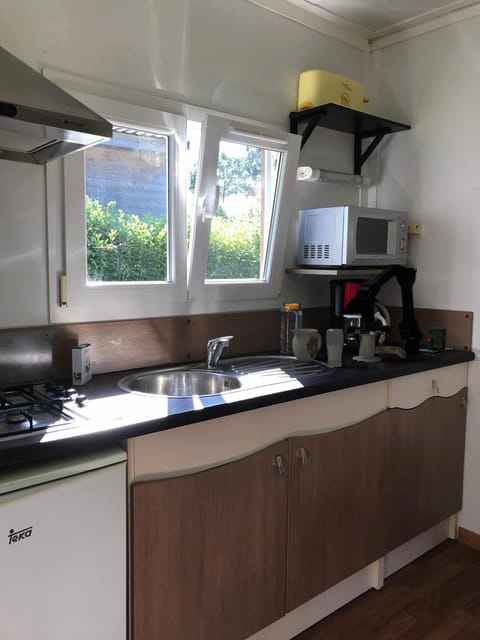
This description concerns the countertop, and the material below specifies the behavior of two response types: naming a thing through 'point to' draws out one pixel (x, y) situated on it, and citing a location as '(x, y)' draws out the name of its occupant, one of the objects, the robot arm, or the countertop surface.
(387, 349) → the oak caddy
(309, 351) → the pitcher
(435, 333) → the canned tomato
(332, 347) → the beer glass
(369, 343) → the cream jug
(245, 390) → the countertop surface
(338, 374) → the countertop surface
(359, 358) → the grey trivet
